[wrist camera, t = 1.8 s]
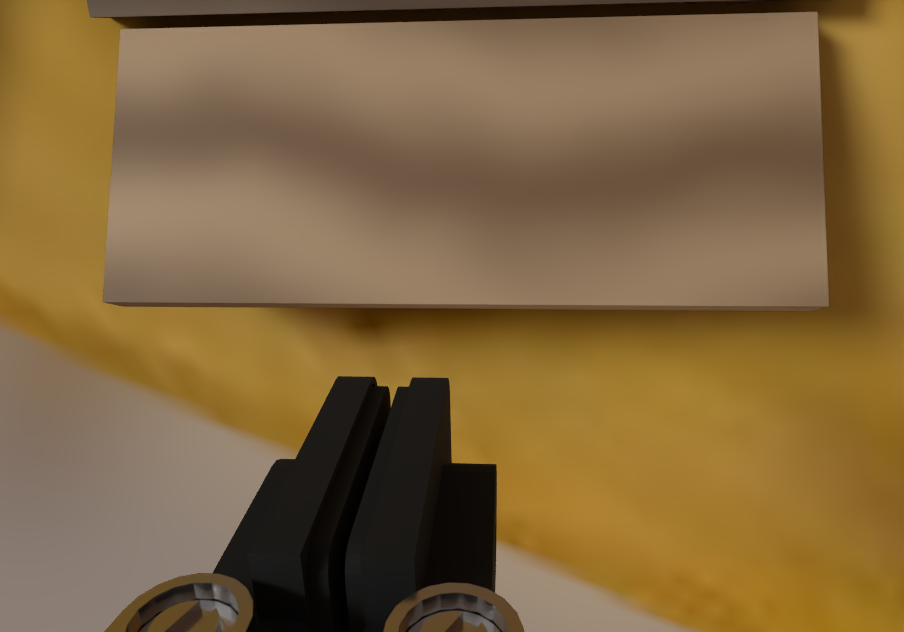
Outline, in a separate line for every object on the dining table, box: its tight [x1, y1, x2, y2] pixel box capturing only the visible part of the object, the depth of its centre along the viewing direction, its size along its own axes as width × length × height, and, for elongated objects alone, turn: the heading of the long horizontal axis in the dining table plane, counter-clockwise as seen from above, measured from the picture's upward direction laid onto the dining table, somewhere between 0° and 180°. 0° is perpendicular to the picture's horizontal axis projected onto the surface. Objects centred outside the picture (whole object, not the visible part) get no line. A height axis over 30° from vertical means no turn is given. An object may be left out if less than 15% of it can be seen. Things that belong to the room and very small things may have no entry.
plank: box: [103, 12, 829, 311], centre depth 22 cm, size 9×22×1 cm, turn 91°
